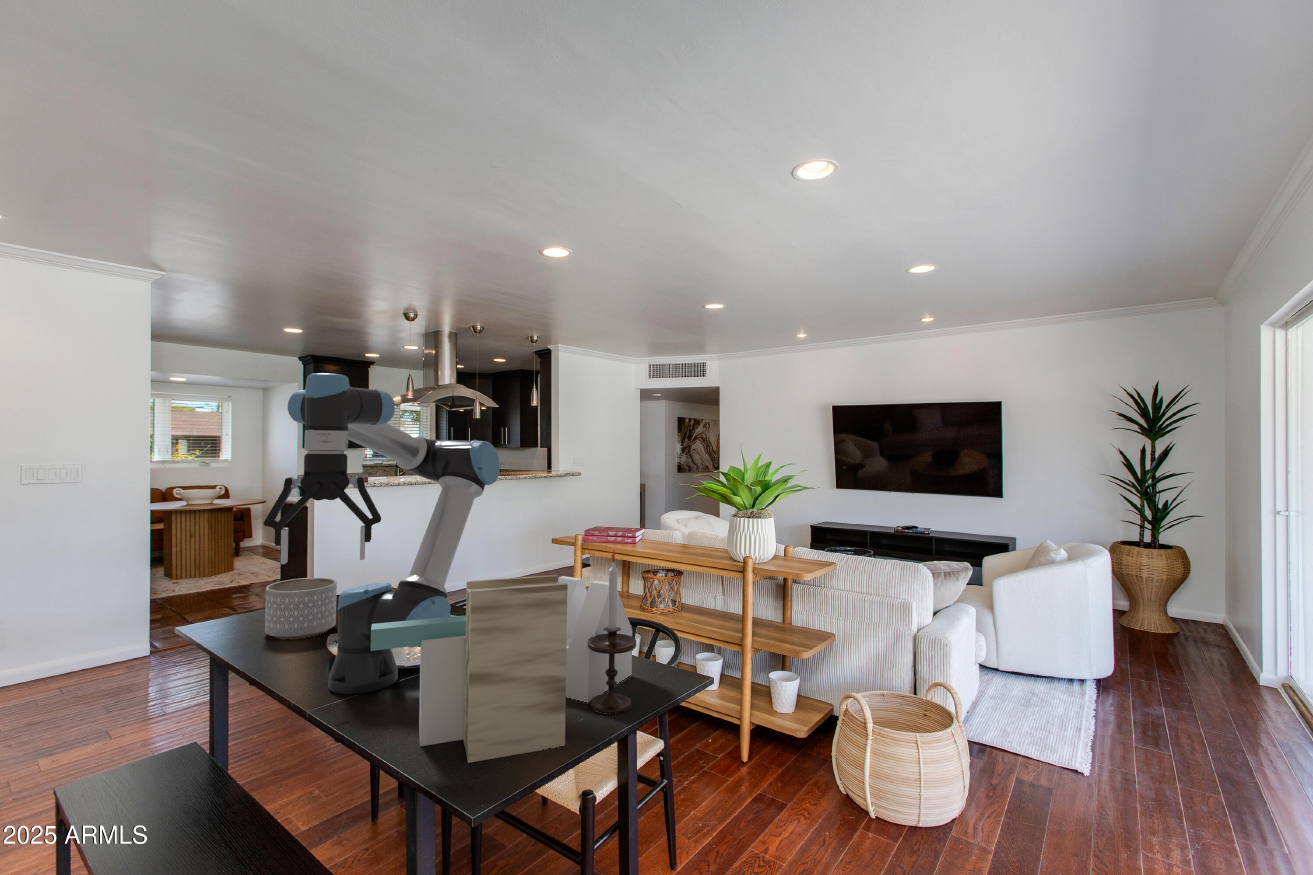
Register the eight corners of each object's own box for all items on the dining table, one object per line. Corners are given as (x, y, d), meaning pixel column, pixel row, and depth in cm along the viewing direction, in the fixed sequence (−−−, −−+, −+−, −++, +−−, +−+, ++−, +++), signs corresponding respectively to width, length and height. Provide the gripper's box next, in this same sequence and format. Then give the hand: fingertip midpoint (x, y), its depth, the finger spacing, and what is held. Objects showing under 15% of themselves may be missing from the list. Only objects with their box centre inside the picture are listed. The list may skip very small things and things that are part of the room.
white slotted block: (581, 664, 163) (583, 570, 164) (631, 675, 156) (633, 576, 156) (534, 689, 146) (536, 584, 147) (588, 703, 139) (589, 592, 139)
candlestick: (636, 715, 133) (638, 553, 133) (585, 716, 132) (588, 553, 132) (634, 695, 144) (636, 544, 144) (587, 695, 143) (589, 544, 143)
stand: (463, 740, 121) (466, 580, 121) (554, 725, 128) (557, 574, 128) (467, 762, 113) (471, 591, 113) (564, 745, 119) (567, 584, 120)
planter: (284, 646, 174) (285, 594, 174) (252, 633, 184) (253, 585, 184) (348, 629, 190) (349, 582, 190) (315, 619, 200) (316, 575, 200)
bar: (371, 644, 121) (371, 623, 121) (524, 628, 133) (525, 609, 133) (370, 650, 117) (371, 629, 117) (528, 633, 129) (528, 614, 129)
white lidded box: (419, 725, 127) (420, 628, 127) (508, 712, 134) (509, 620, 134) (420, 746, 118) (421, 641, 119) (515, 731, 125) (516, 632, 125)
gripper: (247, 452, 113) (244, 568, 113) (394, 453, 123) (392, 560, 122) (256, 451, 120) (254, 560, 120) (395, 452, 130) (393, 553, 129)
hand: (324, 560), depth 121 cm, fingers open, 13 cm apart
